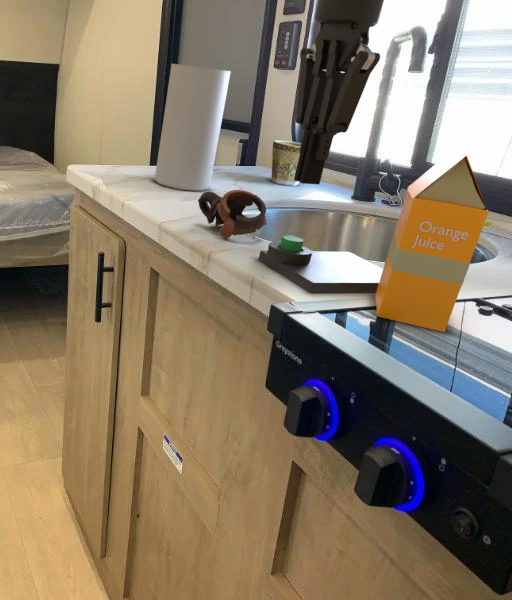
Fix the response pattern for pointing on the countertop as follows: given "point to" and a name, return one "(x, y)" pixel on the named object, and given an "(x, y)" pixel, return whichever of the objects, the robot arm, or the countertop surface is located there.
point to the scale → (323, 269)
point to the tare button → (291, 243)
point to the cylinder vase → (191, 127)
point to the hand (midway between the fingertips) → (306, 182)
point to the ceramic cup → (285, 162)
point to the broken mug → (232, 212)
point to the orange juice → (432, 245)
